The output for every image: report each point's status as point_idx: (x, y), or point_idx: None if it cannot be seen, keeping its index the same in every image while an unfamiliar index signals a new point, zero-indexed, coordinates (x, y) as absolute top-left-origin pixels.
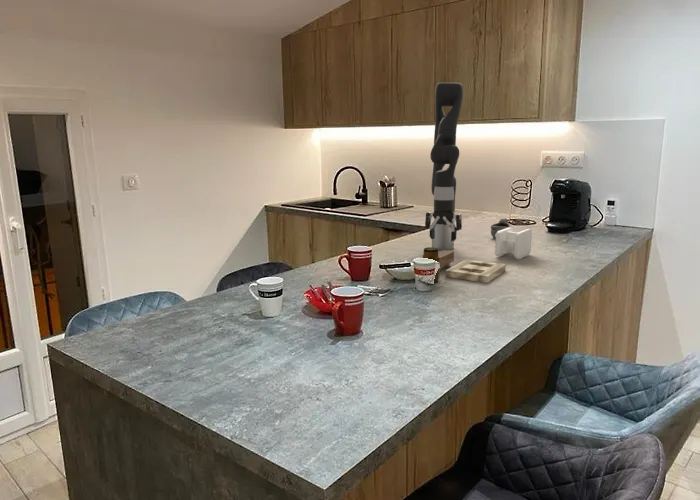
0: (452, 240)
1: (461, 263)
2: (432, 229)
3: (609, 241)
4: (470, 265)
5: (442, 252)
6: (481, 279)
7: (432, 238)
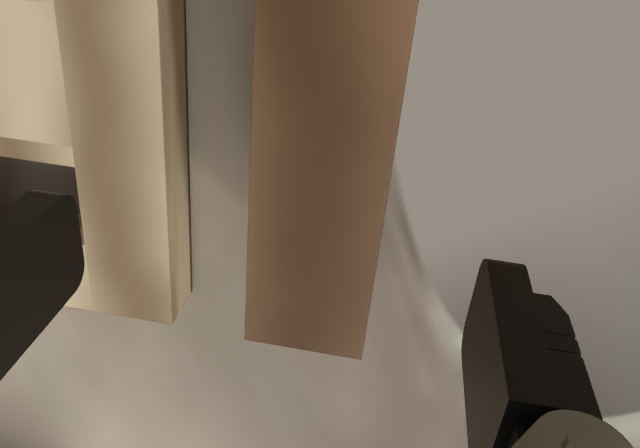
0: (35, 191)
1: (137, 161)
2: (517, 431)
3: None
4: (25, 115)
5: (347, 240)
6: None
7: (483, 263)
